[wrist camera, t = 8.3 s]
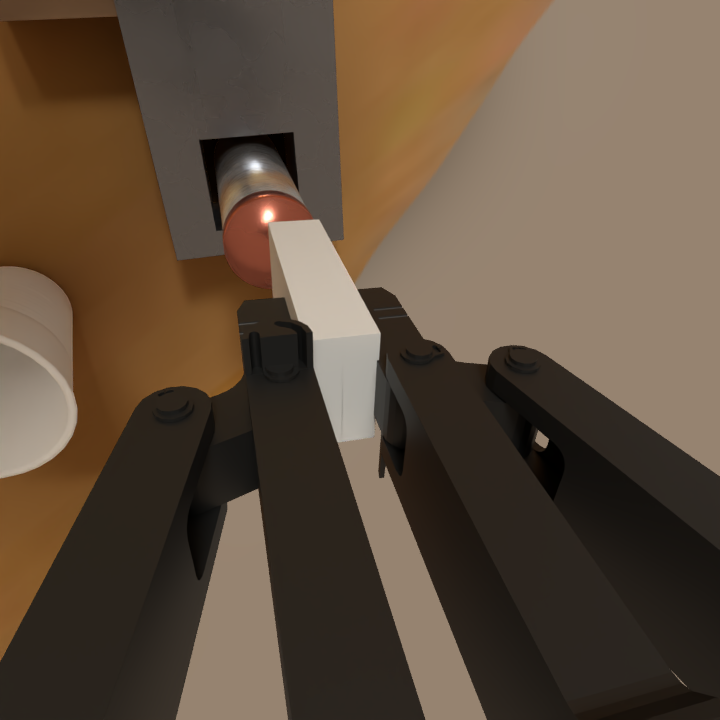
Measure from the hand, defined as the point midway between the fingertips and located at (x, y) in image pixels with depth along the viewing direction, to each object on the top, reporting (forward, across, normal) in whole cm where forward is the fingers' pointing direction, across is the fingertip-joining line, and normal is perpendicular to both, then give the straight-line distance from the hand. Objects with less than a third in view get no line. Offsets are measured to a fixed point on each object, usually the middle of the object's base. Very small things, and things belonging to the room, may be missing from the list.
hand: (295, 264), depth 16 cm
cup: (+21, -16, -11) cm, 28 cm away
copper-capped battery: (+21, 0, -2) cm, 21 cm away
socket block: (+21, 0, +1) cm, 21 cm away
